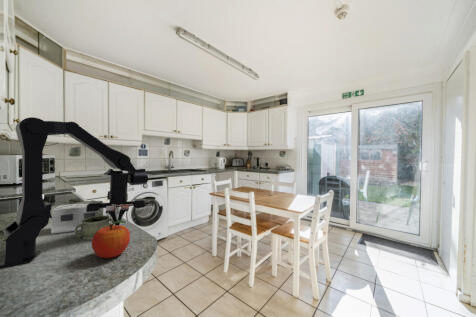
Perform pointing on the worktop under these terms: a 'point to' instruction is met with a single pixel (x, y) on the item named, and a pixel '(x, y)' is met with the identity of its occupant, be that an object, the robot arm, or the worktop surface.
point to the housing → (71, 217)
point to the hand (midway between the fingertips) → (117, 226)
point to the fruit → (111, 240)
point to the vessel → (92, 226)
